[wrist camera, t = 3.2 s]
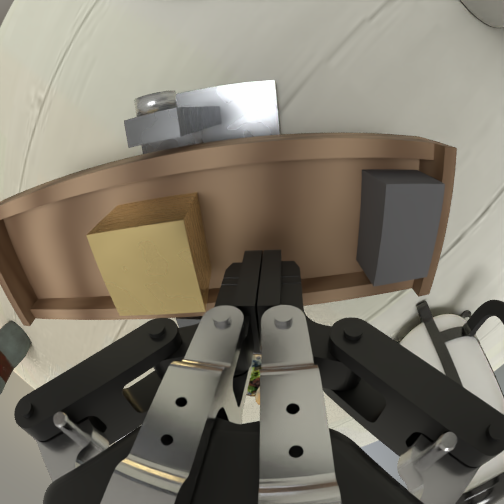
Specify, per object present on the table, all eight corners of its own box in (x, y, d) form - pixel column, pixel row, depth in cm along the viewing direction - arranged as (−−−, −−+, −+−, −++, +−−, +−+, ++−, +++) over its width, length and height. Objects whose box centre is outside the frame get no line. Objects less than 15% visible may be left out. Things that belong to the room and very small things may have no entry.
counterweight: (416, 169, 14) (445, 184, 12) (405, 253, 17) (427, 276, 14) (361, 169, 14) (386, 184, 12) (355, 259, 17) (373, 286, 14)
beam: (419, 136, 14) (456, 148, 11) (404, 264, 19) (429, 294, 16) (3, 199, 15) (-27, 219, 11) (43, 297, 20) (23, 325, 16)
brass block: (197, 192, 15) (183, 220, 11) (211, 268, 17) (205, 311, 14) (117, 205, 15) (86, 235, 11) (139, 275, 17) (119, 315, 14)
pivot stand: (274, 81, 19) (268, 58, 10) (287, 268, 28) (287, 353, 18) (142, 104, 21) (60, 114, 11) (177, 270, 30) (137, 344, 20)
